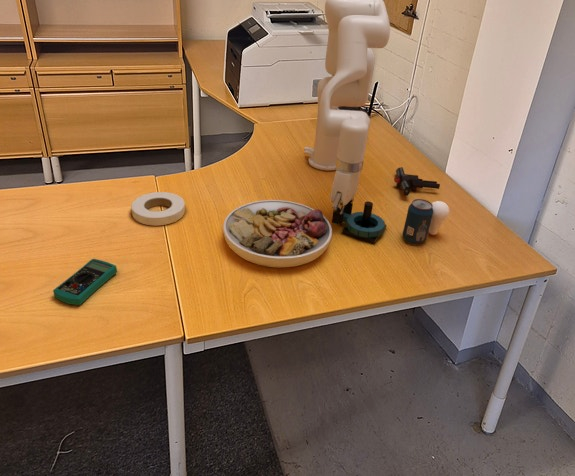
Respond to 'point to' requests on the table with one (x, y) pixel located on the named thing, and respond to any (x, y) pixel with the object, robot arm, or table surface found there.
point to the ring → (363, 231)
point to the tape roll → (158, 217)
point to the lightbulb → (438, 216)
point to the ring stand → (364, 224)
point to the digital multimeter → (85, 282)
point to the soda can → (418, 221)
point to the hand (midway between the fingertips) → (341, 218)
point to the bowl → (277, 233)
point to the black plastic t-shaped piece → (412, 182)
